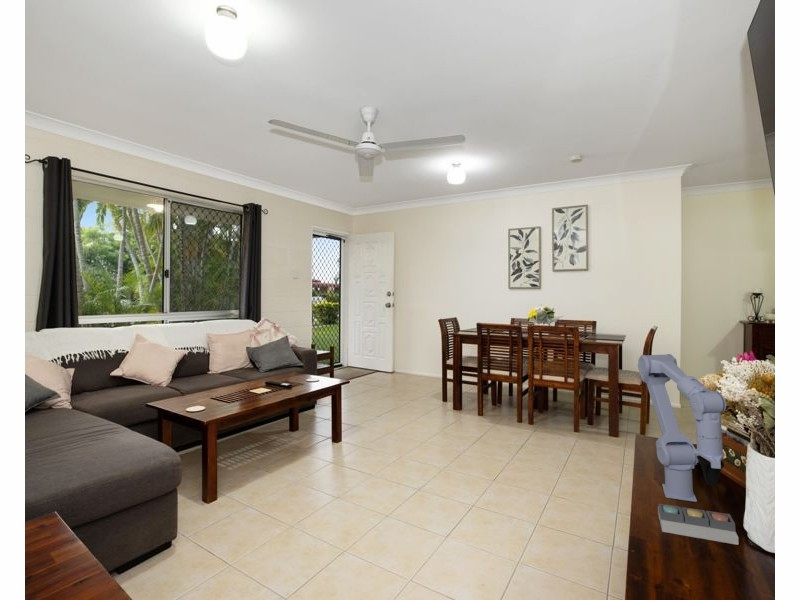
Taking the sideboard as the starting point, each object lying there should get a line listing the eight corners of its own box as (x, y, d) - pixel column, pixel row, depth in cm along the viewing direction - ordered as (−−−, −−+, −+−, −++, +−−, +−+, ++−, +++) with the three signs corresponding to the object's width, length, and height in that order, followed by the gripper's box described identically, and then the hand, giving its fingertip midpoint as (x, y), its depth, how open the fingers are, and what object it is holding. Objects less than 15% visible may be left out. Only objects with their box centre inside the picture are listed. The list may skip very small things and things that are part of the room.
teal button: (662, 511, 116) (662, 504, 116) (677, 513, 115) (676, 506, 115) (664, 516, 113) (663, 509, 113) (679, 519, 112) (678, 512, 112)
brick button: (710, 518, 111) (710, 511, 111) (726, 520, 110) (726, 513, 110) (713, 524, 108) (713, 517, 108) (730, 527, 107) (729, 520, 107)
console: (658, 513, 119) (657, 499, 119) (728, 524, 112) (727, 509, 112) (662, 531, 110) (661, 516, 110) (738, 544, 103) (737, 528, 103)
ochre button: (686, 514, 114) (685, 507, 114) (701, 517, 112) (701, 509, 112) (688, 520, 111) (688, 513, 111) (704, 523, 109) (703, 516, 109)
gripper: (686, 426, 123) (689, 472, 123) (696, 442, 110) (699, 493, 110) (716, 428, 120) (718, 475, 120) (729, 445, 107) (732, 498, 107)
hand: (711, 484), depth 115 cm, fingers closed
